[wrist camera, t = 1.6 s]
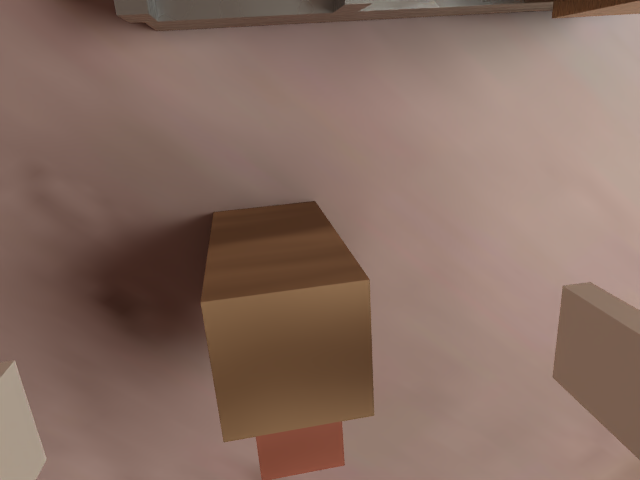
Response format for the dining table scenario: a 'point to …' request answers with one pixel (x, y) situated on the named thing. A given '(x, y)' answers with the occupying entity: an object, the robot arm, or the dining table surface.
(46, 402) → the dining table surface
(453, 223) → the dining table surface
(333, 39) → the dining table surface
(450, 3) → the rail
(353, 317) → the walnut finger
